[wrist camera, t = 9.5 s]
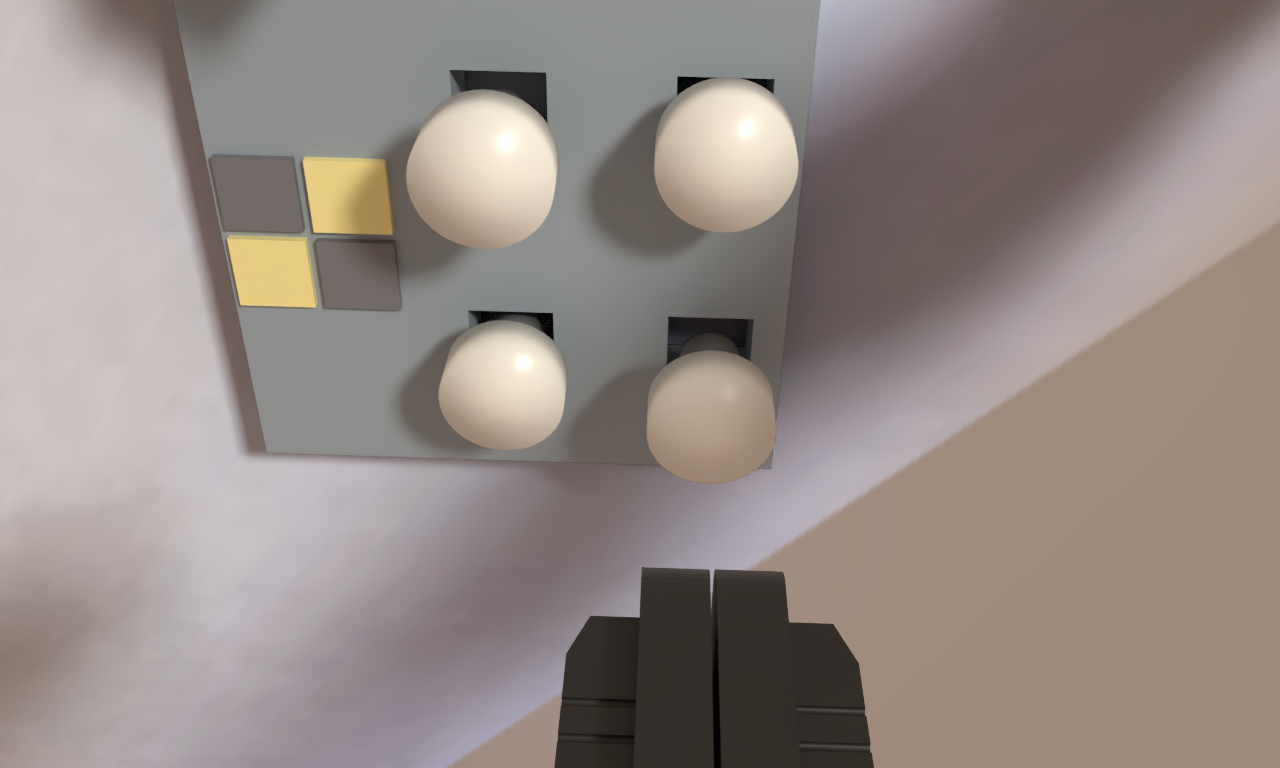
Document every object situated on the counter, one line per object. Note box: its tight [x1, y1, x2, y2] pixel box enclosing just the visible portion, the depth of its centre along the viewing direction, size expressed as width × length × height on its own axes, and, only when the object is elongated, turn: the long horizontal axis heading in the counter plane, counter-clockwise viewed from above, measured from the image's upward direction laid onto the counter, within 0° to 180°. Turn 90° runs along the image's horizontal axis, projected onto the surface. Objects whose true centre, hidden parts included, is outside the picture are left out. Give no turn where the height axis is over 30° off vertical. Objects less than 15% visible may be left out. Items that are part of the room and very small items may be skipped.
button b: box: [647, 333, 776, 484], centre depth 48 cm, size 5×5×5 cm
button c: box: [406, 88, 559, 249], centre depth 42 cm, size 5×5×5 cm
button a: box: [654, 77, 798, 232], centre depth 43 cm, size 5×5×5 cm
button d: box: [439, 311, 568, 450], centre depth 49 cm, size 5×5×5 cm
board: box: [173, 0, 820, 469], centre depth 48 cm, size 22×22×3 cm
